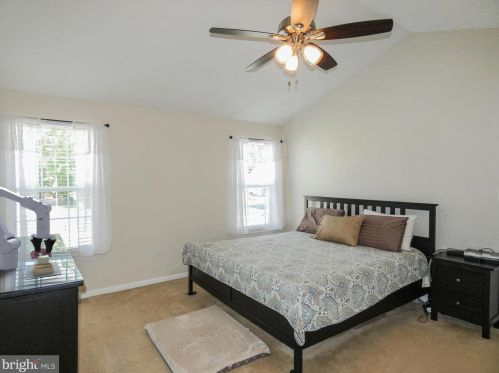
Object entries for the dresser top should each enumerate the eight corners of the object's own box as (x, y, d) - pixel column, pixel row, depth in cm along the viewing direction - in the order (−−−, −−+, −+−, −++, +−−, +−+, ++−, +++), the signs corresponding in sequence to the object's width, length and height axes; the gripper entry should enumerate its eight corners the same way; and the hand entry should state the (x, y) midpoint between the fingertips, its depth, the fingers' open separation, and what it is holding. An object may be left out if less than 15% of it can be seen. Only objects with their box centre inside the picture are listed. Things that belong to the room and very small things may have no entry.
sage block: (37, 265, 156) (37, 256, 156) (48, 264, 159) (48, 255, 159) (38, 268, 152) (38, 258, 152) (48, 266, 155) (48, 257, 155)
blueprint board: (25, 267, 156) (25, 259, 156) (57, 263, 164) (57, 255, 164) (25, 280, 137) (25, 271, 137) (61, 274, 145) (61, 266, 145)
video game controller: (50, 259, 179) (48, 247, 181) (52, 256, 177) (50, 245, 178) (30, 262, 172) (28, 250, 173) (32, 260, 169) (30, 248, 171)
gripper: (25, 226, 153) (25, 253, 154) (46, 228, 149) (46, 255, 149) (38, 224, 160) (38, 250, 160) (59, 226, 156) (59, 252, 156)
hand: (43, 252), depth 155 cm, fingers open, 7 cm apart
